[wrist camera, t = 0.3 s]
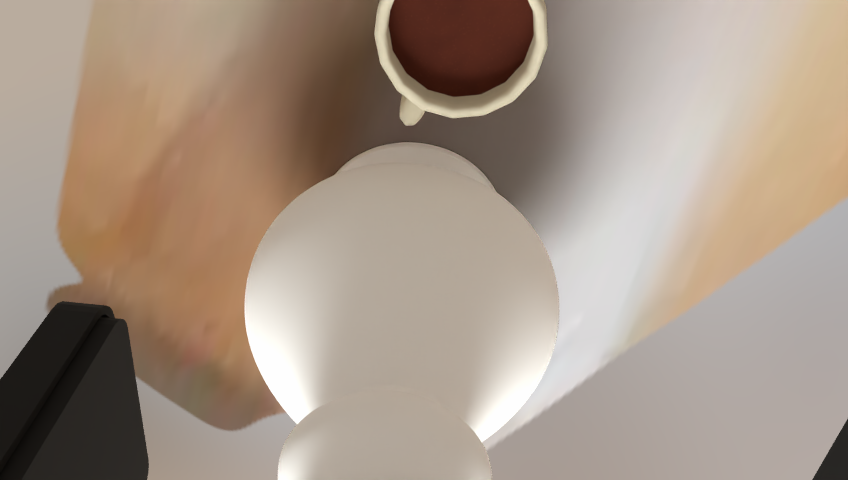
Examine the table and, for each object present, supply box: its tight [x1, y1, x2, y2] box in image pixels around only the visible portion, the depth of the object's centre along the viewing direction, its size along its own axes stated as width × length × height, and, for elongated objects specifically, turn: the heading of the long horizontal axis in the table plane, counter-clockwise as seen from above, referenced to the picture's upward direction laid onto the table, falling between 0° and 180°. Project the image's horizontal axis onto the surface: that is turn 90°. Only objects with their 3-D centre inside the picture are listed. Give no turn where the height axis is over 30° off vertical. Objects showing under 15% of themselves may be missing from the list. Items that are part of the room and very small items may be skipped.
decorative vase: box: [245, 142, 559, 480], centre depth 40 cm, size 18×18×25 cm
